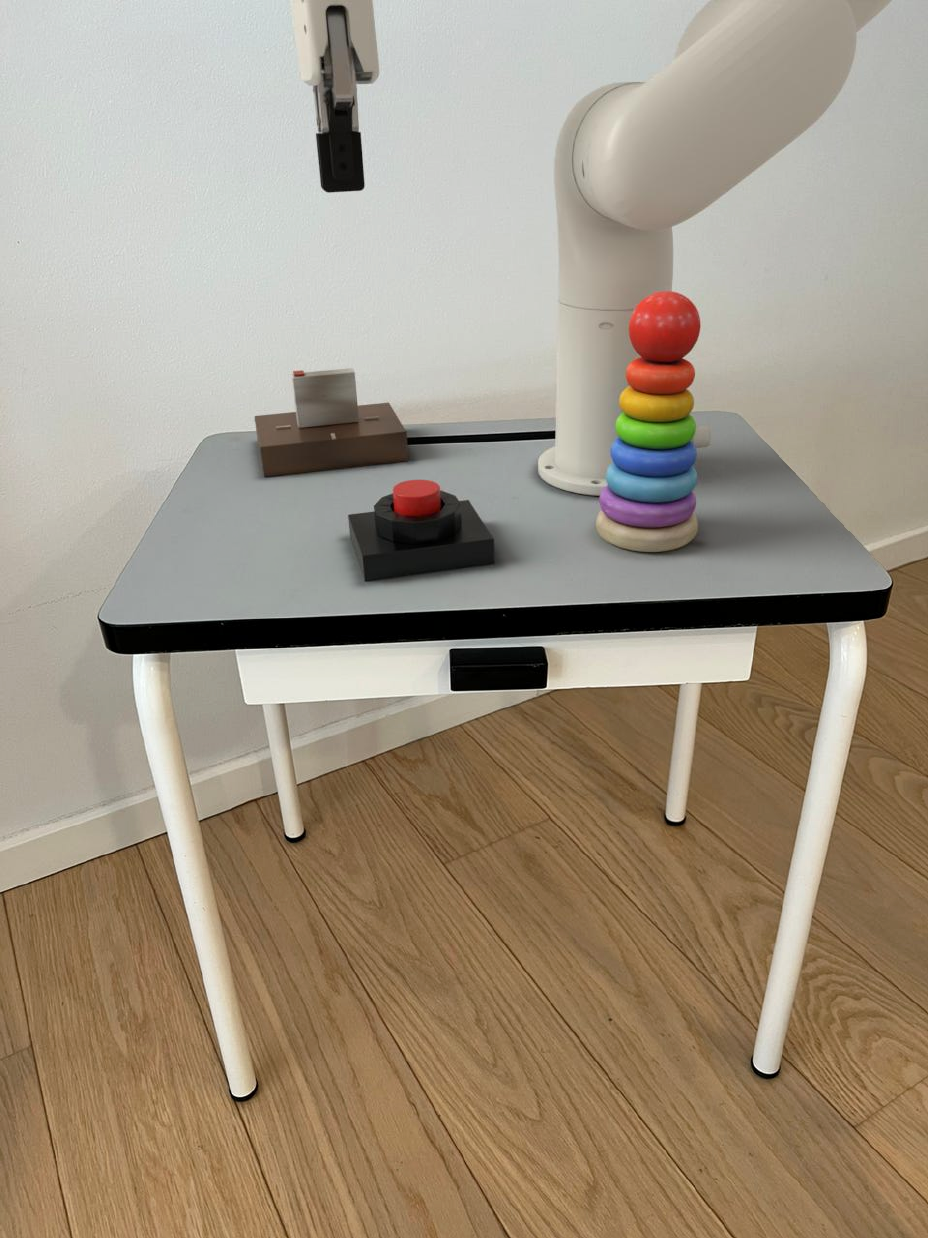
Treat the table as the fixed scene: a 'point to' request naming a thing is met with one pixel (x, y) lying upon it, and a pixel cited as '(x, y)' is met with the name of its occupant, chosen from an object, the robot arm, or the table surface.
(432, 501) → the button
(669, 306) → the stacking toy
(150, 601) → the table surface
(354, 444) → the brown base block
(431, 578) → the table surface
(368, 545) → the switch block
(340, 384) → the grey rectangular block
